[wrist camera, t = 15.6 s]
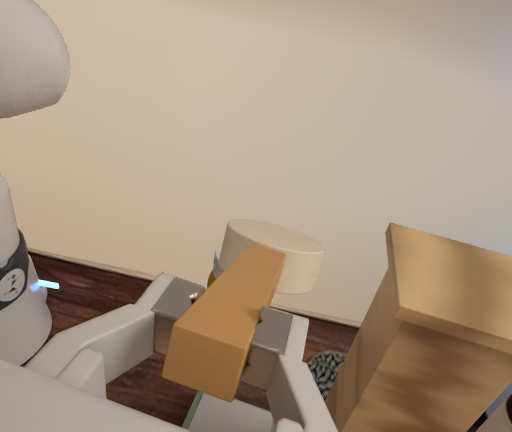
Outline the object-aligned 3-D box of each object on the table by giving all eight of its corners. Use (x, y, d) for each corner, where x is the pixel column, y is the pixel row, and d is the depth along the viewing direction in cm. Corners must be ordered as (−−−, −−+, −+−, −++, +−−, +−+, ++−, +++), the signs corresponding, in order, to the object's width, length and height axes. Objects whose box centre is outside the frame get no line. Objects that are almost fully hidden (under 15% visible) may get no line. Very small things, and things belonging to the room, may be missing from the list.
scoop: (88, 375, 10) (104, 292, 10) (231, 248, 26) (240, 214, 25) (300, 456, 9) (328, 368, 9) (314, 273, 25) (325, 238, 24)
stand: (282, 524, 35) (399, 305, 19) (297, 432, 43) (389, 221, 27) (375, 561, 34) (580, 360, 18) (373, 460, 41) (517, 257, 26)
